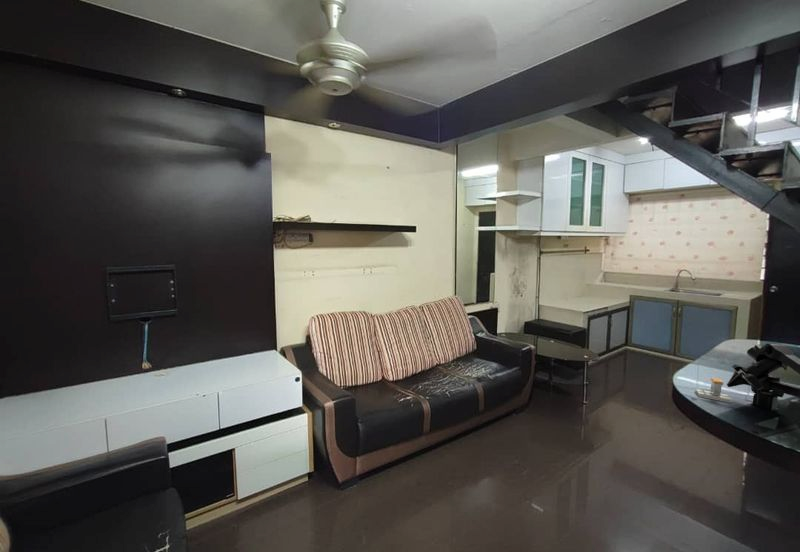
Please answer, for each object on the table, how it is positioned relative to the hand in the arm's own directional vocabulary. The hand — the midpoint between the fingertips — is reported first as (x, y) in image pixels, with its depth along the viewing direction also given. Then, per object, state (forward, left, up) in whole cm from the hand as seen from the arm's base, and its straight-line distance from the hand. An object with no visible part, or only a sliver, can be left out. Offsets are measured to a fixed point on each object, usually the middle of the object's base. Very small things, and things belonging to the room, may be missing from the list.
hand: (727, 386), depth 161 cm
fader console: (+3, +3, -6) cm, 8 cm away
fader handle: (+3, +3, -5) cm, 6 cm away
